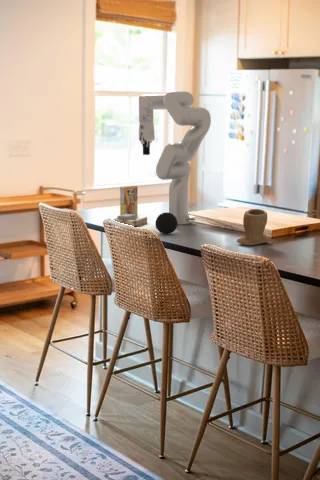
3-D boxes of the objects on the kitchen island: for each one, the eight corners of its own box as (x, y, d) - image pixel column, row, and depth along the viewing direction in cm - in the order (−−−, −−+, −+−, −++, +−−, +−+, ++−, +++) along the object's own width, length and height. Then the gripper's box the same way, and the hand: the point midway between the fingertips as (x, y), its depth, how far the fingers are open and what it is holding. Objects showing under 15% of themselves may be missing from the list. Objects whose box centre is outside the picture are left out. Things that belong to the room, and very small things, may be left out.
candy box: (133, 213, 388) (132, 185, 385) (138, 214, 385) (137, 186, 382) (119, 215, 382) (119, 186, 379) (124, 216, 379) (124, 187, 376)
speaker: (154, 232, 334) (154, 211, 332) (176, 232, 334) (176, 210, 333) (156, 236, 324) (156, 214, 322) (178, 236, 325) (178, 214, 323)
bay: (147, 223, 358) (147, 217, 358) (135, 227, 347) (135, 220, 347) (125, 221, 363) (125, 215, 363) (114, 225, 352) (113, 219, 352)
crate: (136, 223, 357) (136, 214, 356) (127, 226, 350) (127, 216, 349) (125, 222, 360) (125, 213, 359) (117, 225, 353) (117, 215, 352)
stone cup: (252, 248, 297) (253, 212, 295) (232, 244, 307) (233, 209, 304) (278, 244, 306) (279, 209, 303) (258, 240, 316) (259, 206, 313)
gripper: (146, 119, 364) (146, 156, 368) (158, 118, 378) (158, 153, 381) (133, 119, 368) (133, 155, 371) (145, 118, 381) (146, 153, 384)
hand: (146, 154), depth 376 cm, fingers closed
